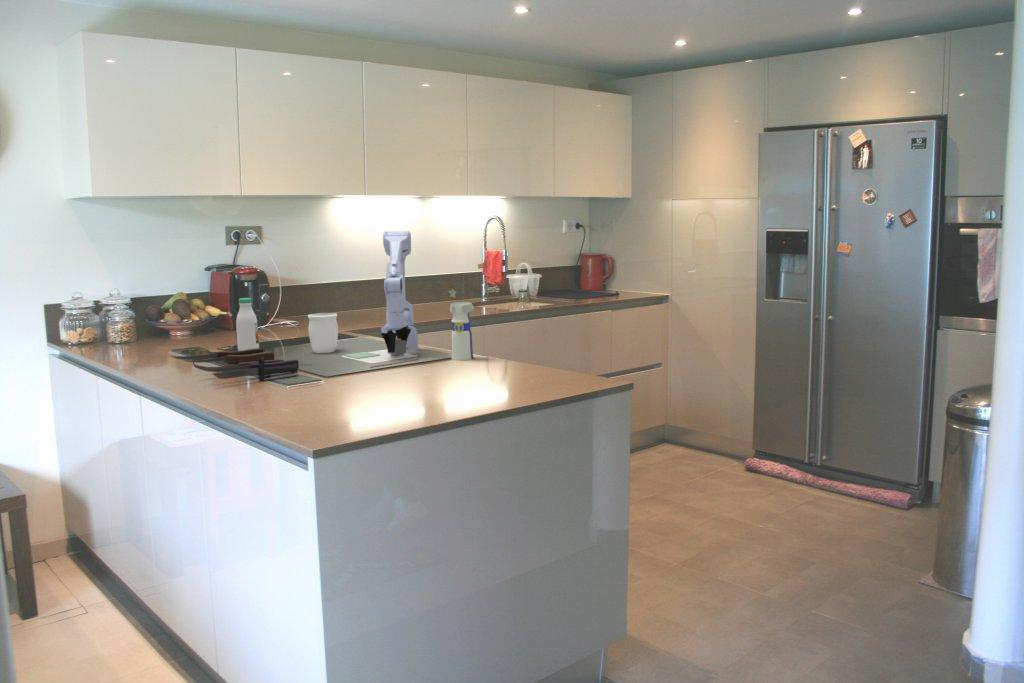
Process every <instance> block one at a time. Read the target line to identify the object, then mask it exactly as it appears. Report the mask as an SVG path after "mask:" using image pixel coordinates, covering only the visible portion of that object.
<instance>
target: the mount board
mask: <svg viewBox="0 0 1024 683" xmlns="http://www.w3.org/2000/svg"><path fill="white" fill-rule="evenodd" d="M369 352H370V353H375V354H379V355H380V356H375V357H368V358H361V359H355V358H350V357H346V356H344V355H340V357H341V358H342V357H343V358H345V359H346V358H347V359H349V360H350V359H351V360H355V361H359V362H364V363H368V364H378V363H382V362H383V363H384V362H388V361H389V362H390V361H395V360H401V359H409V358H416V357H418V355H416V354H411V353H407V352H406V353H405V354H399V355H392V354H388V349H387V348H386V349H382V350H381V349H380V350H374V351H369ZM416 361H419V359H418V358H417V359H411V360H410V359H409V360H404V361H399V362H393V363H392V362H391V363H385V364H380V365H375V366H374V365H373V366H370V368H371V369H372V368H378V367H385V366H392V365H397V364H403V363H409V362H416Z"/></svg>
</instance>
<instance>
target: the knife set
mask: <svg viewBox="0 0 1024 683" xmlns="http://www.w3.org/2000/svg"><path fill="white" fill-rule="evenodd" d="M170 357H171V358H174V359H177V360H183V361H184V362H187V363H188V362H189V363H192V365H193V367H194V368H195V369H198V370H202V371H204V372H211V373H212V375H213V376H214V377H216V378H218V379H221V380H222V379H224V380H225V379H226V380H229V379H235V378H241V377H250V376H251V377H252V376H258V380H259V381H261V382H263V381H265V376H267V375H277V374H287V373H293V374H294V373H298V371H299V368H300V366H299V365H300V364H299V359H289V360H284V359H279V358H278V359H277V358H276V359H275V353H274V351H265V350H264V348H263V347H259V348H256V349H248V350H242V351H238V350H235V351H228V350H227V351H223V350H222V351H221V350H220V351H217V352H215V353H213V352H212V353H207V354H206V353H205V354H198V355H182V356H181V355H179V356H178V355H176V356H175V355H170ZM215 362H216V363H217V362H223V363H224V364H228V365H223V366H221V365H220V366H215V367H214V366H204V365H199V364H200V363H215ZM195 363H199V364H198V365H197V364H195Z"/></svg>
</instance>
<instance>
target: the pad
mask: <svg viewBox="0 0 1024 683" xmlns="http://www.w3.org/2000/svg"><path fill="white" fill-rule="evenodd" d="M370 352H371V351H362V352H355V353H348V354H343V356H346V357H350V358H355V359H361V358H368V357H375V356H380V355H379V354H375V353H370ZM346 357H345V358H346ZM350 358H349V359H350Z"/></svg>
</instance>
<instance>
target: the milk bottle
mask: <svg viewBox="0 0 1024 683" xmlns="http://www.w3.org/2000/svg"><path fill="white" fill-rule="evenodd" d="M252 302H253V301H252V297H241V298H239V299H238V305H239V310H238V313H237V315H236V320H235V321H236V322H235V327H236V340H237V342H236V344H237V351H242V350H248V349H256V348H260V340H259V329H258V328H259V325H258V319H257V316H256V313H255V311H254V310H253V308H252V307H253V306H252Z"/></svg>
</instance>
